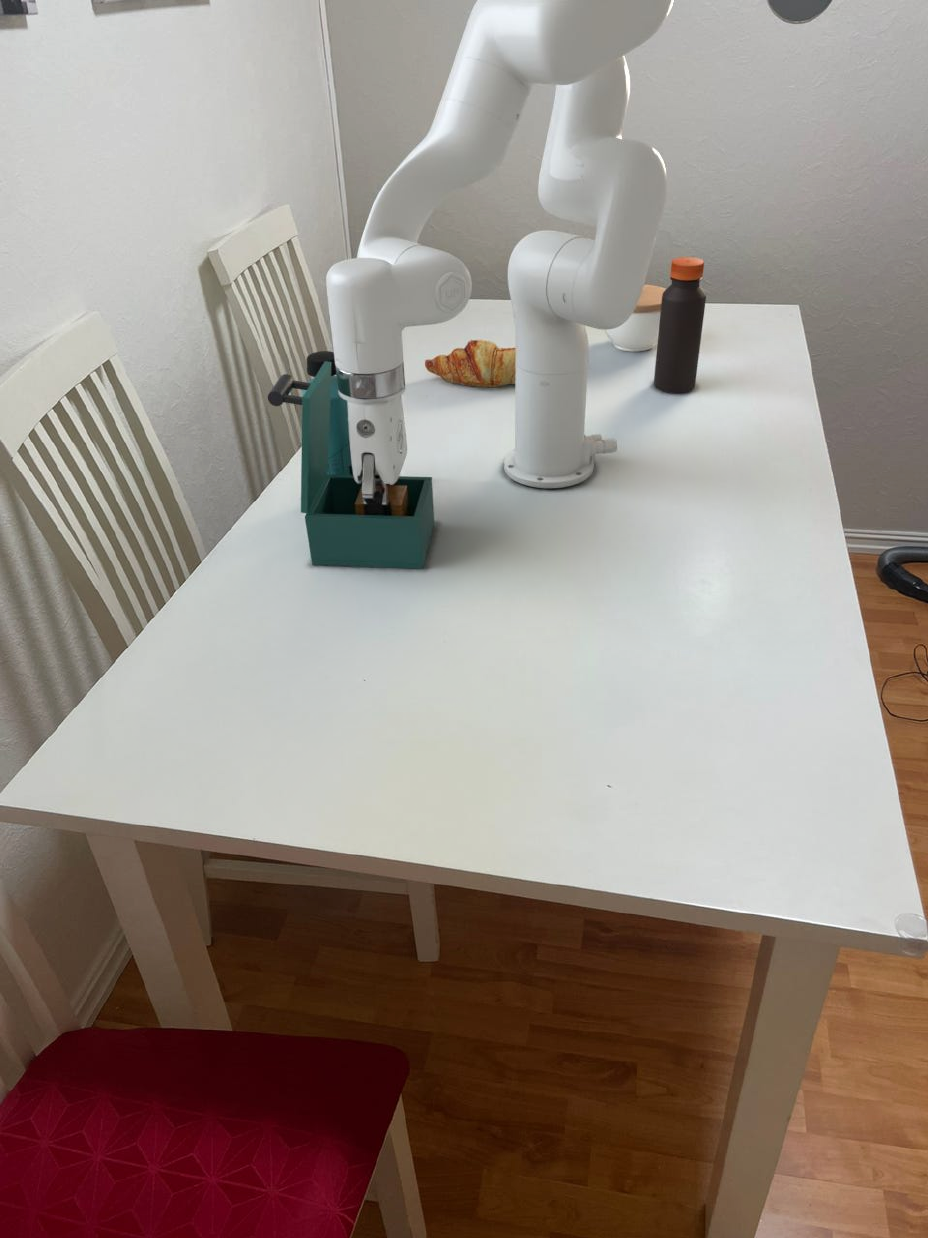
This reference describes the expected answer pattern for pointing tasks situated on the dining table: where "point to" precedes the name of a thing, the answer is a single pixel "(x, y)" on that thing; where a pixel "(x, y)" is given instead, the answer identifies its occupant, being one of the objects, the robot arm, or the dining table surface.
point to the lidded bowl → (640, 323)
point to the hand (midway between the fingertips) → (383, 519)
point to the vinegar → (680, 327)
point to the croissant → (476, 365)
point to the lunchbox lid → (310, 427)
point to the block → (389, 500)
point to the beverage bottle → (334, 417)
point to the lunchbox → (369, 527)
